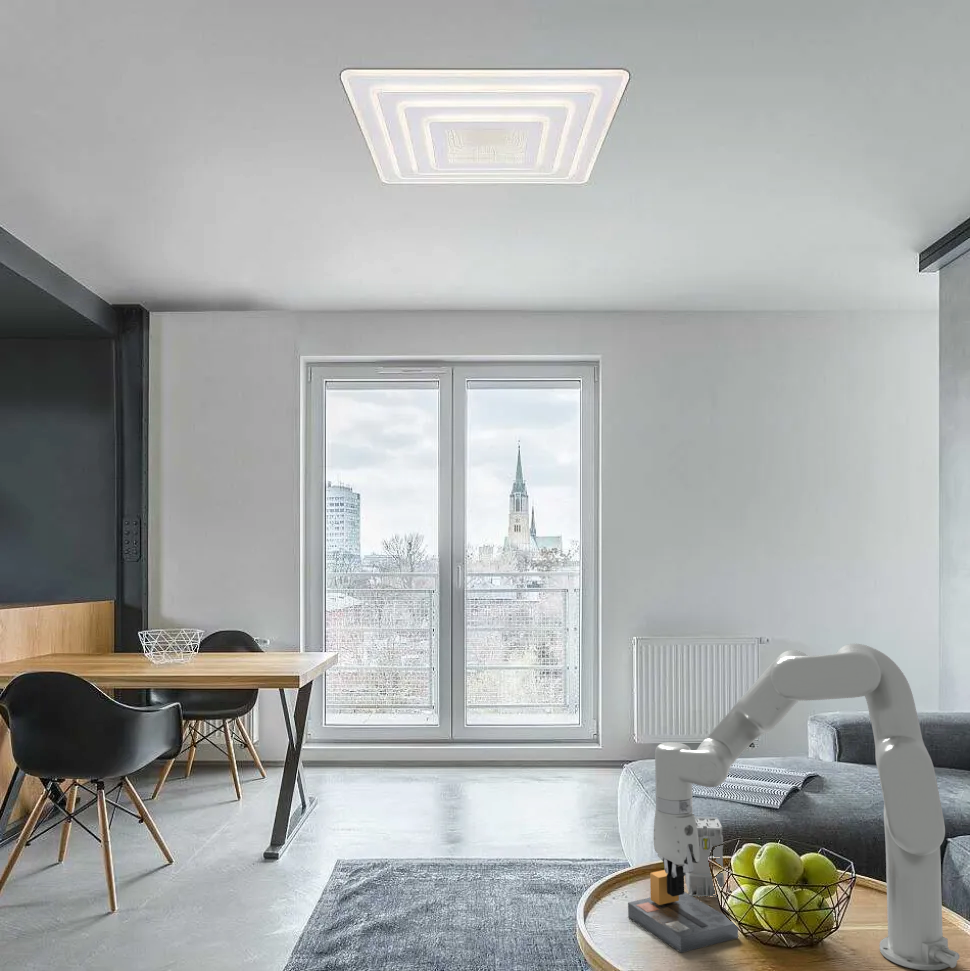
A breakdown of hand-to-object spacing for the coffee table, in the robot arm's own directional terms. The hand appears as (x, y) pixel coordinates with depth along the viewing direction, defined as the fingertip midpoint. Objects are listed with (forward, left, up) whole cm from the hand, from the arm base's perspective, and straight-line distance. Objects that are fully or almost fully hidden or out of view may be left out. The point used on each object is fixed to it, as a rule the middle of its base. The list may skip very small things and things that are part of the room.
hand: (675, 893), depth 192 cm
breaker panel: (-2, 0, -6) cm, 6 cm away
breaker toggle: (+4, 0, -3) cm, 5 cm away
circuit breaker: (+14, -18, -6) cm, 24 cm away
